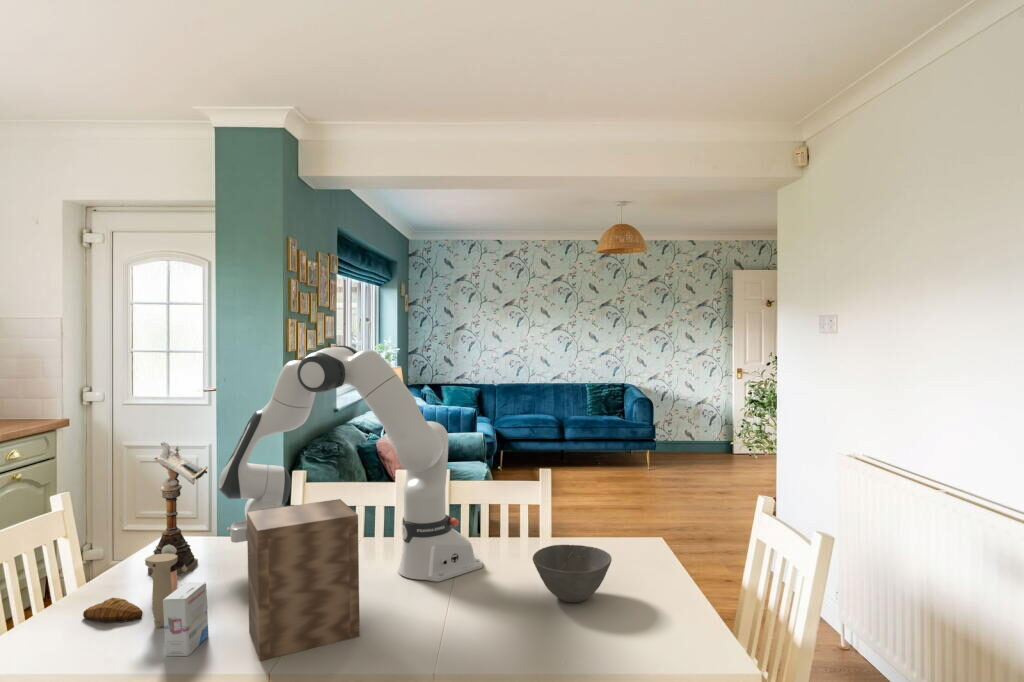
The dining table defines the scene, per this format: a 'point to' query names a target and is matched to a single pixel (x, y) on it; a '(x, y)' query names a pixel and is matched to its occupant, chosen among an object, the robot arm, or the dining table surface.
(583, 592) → the bowl
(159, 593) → the handle
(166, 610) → the ink box
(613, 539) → the dining table surface
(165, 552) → the grandmother figurine
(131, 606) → the croissant
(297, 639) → the walnut stand
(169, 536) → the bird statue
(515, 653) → the dining table surface
